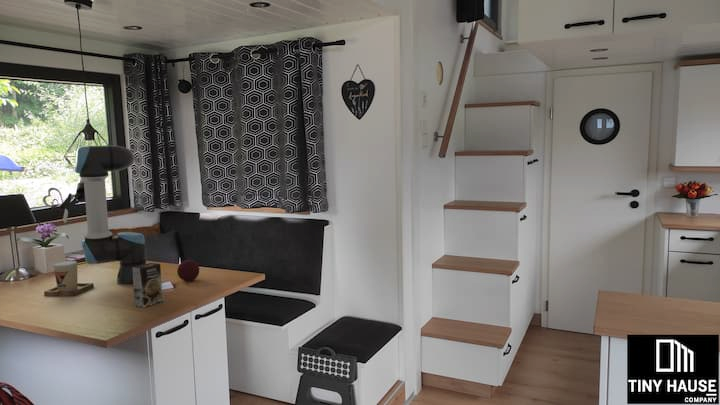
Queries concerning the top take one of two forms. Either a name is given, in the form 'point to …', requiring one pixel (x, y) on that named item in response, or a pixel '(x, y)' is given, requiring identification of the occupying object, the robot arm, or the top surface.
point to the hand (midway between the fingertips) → (79, 220)
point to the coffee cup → (66, 275)
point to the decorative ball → (188, 270)
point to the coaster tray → (80, 289)
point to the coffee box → (147, 284)
